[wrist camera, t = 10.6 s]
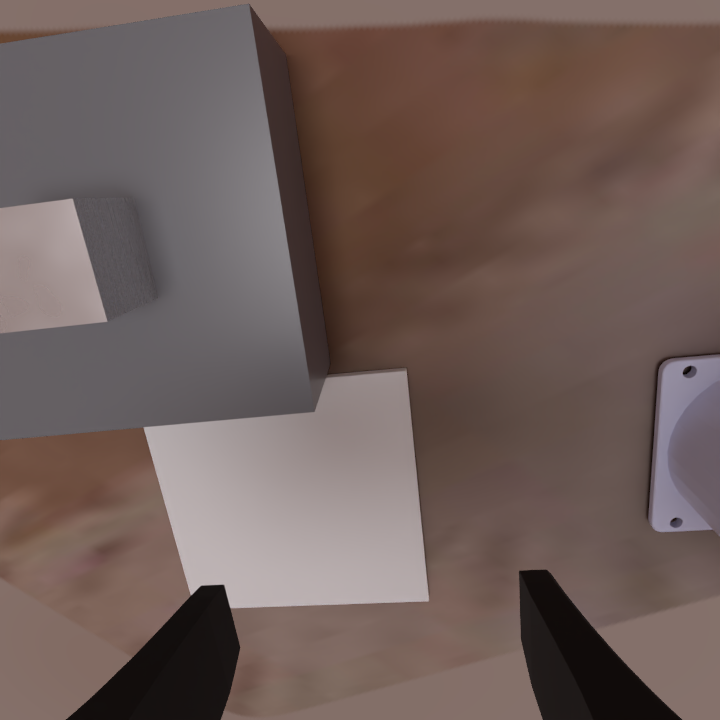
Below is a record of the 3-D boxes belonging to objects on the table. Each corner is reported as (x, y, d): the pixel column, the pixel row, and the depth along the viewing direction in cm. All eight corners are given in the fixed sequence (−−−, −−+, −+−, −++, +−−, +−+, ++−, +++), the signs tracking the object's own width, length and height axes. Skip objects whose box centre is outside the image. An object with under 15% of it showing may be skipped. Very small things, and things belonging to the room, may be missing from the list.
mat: (406, 367, 21) (406, 370, 21) (428, 594, 25) (429, 601, 24) (138, 390, 22) (134, 394, 22) (197, 603, 26) (194, 609, 26)
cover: (286, 54, 18) (210, -51, 10) (330, 363, 21) (299, 457, 14) (-18, 101, 19) (-296, 36, 11) (73, 388, 22) (-89, 489, 15)
